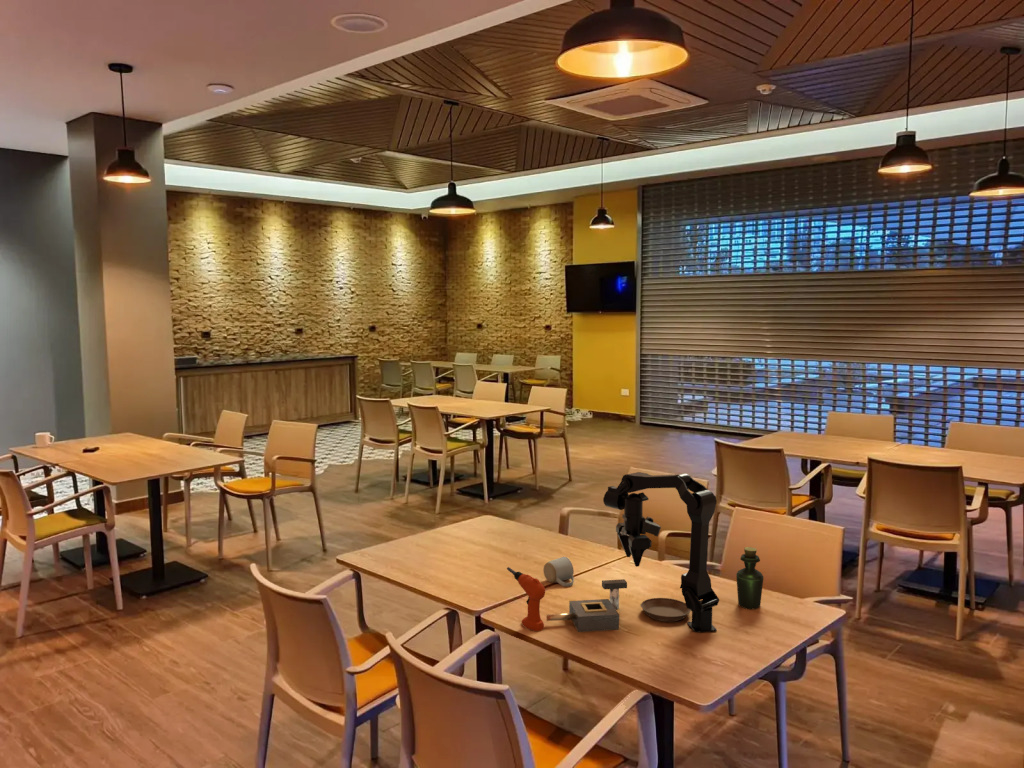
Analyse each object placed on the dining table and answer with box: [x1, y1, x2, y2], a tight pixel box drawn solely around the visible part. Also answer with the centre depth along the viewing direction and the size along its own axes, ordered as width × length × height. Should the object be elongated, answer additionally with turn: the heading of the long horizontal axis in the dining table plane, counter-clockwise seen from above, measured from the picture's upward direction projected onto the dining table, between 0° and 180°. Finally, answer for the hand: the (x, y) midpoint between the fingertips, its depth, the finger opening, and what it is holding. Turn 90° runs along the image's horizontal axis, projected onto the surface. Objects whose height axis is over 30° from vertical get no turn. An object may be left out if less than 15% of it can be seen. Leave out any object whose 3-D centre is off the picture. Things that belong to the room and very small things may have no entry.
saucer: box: [640, 597, 692, 622], centre depth 222 cm, size 15×15×3 cm
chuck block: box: [545, 598, 620, 633], centre depth 216 cm, size 12×20×5 cm, turn 97°
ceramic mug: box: [543, 556, 575, 587], centre depth 250 cm, size 11×8×8 cm
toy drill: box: [506, 566, 546, 632], centre depth 217 cm, size 5×19×15 cm, turn 33°
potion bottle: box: [735, 546, 764, 610], centre depth 228 cm, size 8×8×18 cm
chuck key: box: [601, 578, 628, 611], centre depth 227 cm, size 3×7×8 cm, turn 98°
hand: (632, 561), depth 231 cm, fingers open, 9 cm apart
